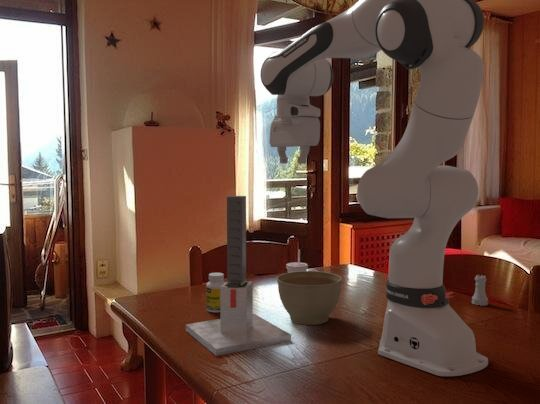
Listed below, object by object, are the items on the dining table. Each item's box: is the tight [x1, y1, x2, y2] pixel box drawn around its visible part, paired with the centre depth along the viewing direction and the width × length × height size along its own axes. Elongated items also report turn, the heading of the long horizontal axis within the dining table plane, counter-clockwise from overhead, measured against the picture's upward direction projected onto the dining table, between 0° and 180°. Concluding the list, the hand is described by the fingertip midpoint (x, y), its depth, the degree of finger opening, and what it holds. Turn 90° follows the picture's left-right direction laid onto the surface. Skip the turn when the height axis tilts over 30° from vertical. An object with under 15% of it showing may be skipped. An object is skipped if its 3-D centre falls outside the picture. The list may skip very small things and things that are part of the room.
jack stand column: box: [226, 195, 247, 287], centre depth 116 cm, size 4×4×24 cm
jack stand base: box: [185, 280, 292, 357], centre depth 117 cm, size 18×18×13 cm
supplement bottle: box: [205, 272, 226, 313], centre depth 138 cm, size 5×5×10 cm
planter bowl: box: [276, 270, 343, 326], centre depth 130 cm, size 16×16×11 cm
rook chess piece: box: [471, 274, 489, 307], centre depth 144 cm, size 4×4×8 cm
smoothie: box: [285, 249, 309, 273], centre depth 151 cm, size 6×6×14 cm
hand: (292, 163), depth 140 cm, fingers open, 8 cm apart
